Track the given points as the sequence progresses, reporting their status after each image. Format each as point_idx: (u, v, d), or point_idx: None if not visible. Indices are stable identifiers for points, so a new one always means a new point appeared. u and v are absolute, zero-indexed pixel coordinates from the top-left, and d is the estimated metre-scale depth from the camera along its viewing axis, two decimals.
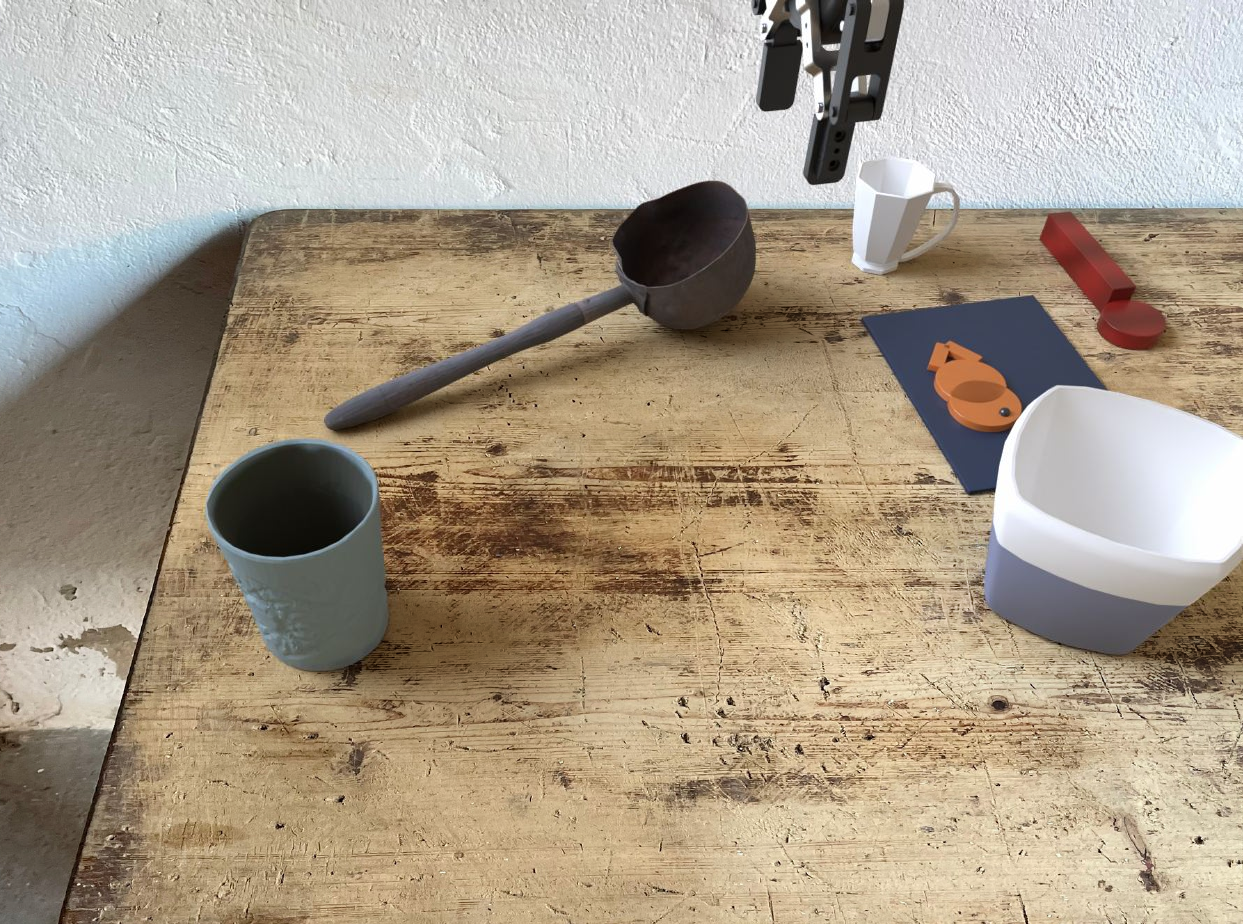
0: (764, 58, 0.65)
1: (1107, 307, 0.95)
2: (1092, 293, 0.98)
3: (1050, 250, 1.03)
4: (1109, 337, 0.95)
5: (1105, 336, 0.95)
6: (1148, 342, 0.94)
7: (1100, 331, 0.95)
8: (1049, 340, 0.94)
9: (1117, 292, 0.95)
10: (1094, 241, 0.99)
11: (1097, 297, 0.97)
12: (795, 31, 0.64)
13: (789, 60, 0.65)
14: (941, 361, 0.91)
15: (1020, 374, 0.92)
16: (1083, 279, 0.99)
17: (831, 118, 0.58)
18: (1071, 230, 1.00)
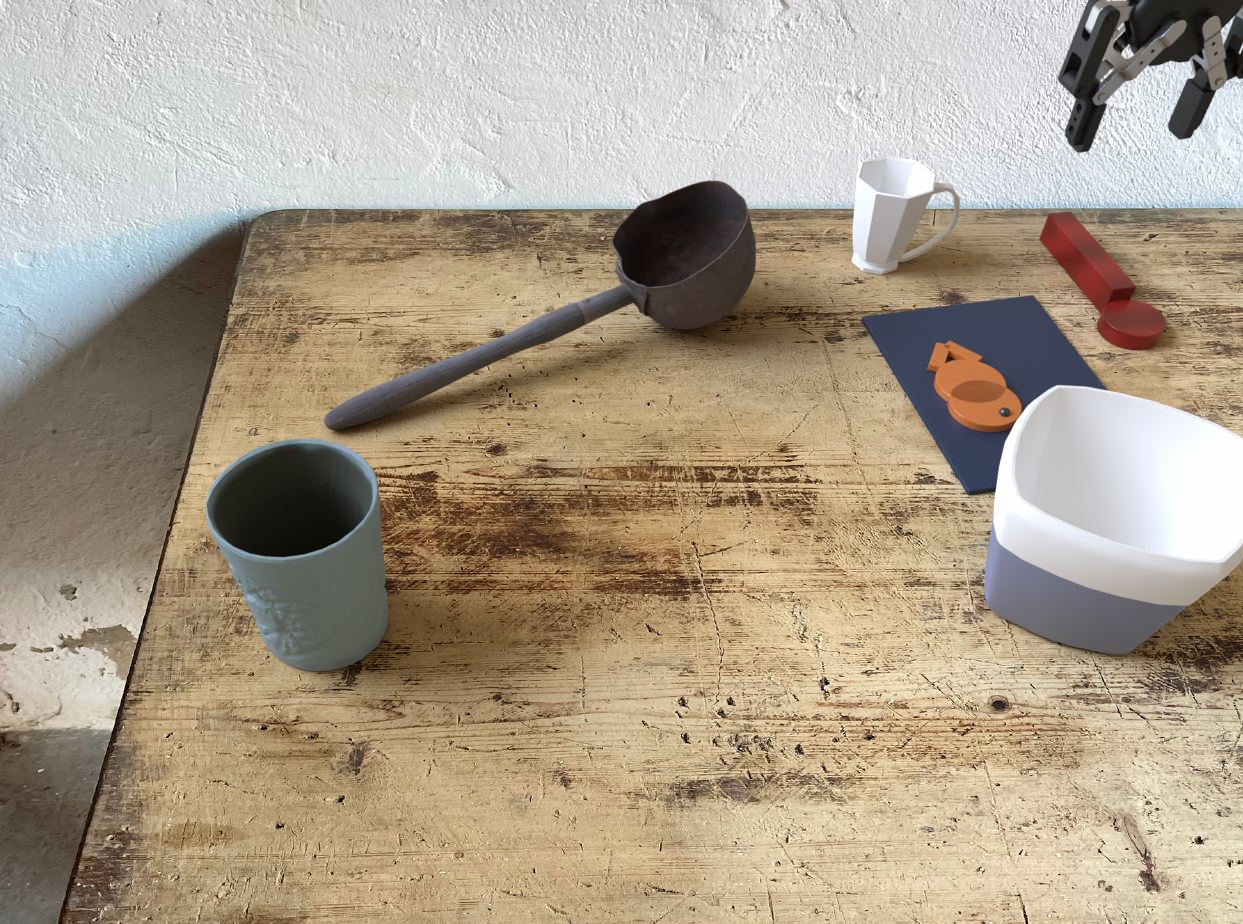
0: None
1: (1107, 307, 0.95)
2: (1092, 293, 0.98)
3: (1050, 250, 1.03)
4: (1109, 337, 0.95)
5: (1105, 336, 0.95)
6: (1148, 342, 0.94)
7: (1100, 331, 0.95)
8: (1049, 340, 0.94)
9: (1117, 292, 0.95)
10: (1094, 241, 0.99)
11: (1097, 297, 0.97)
12: (1205, 79, 0.82)
13: (1193, 99, 0.83)
14: (941, 361, 0.91)
15: (1020, 374, 0.92)
16: (1083, 279, 0.99)
17: None
18: (1071, 230, 1.00)
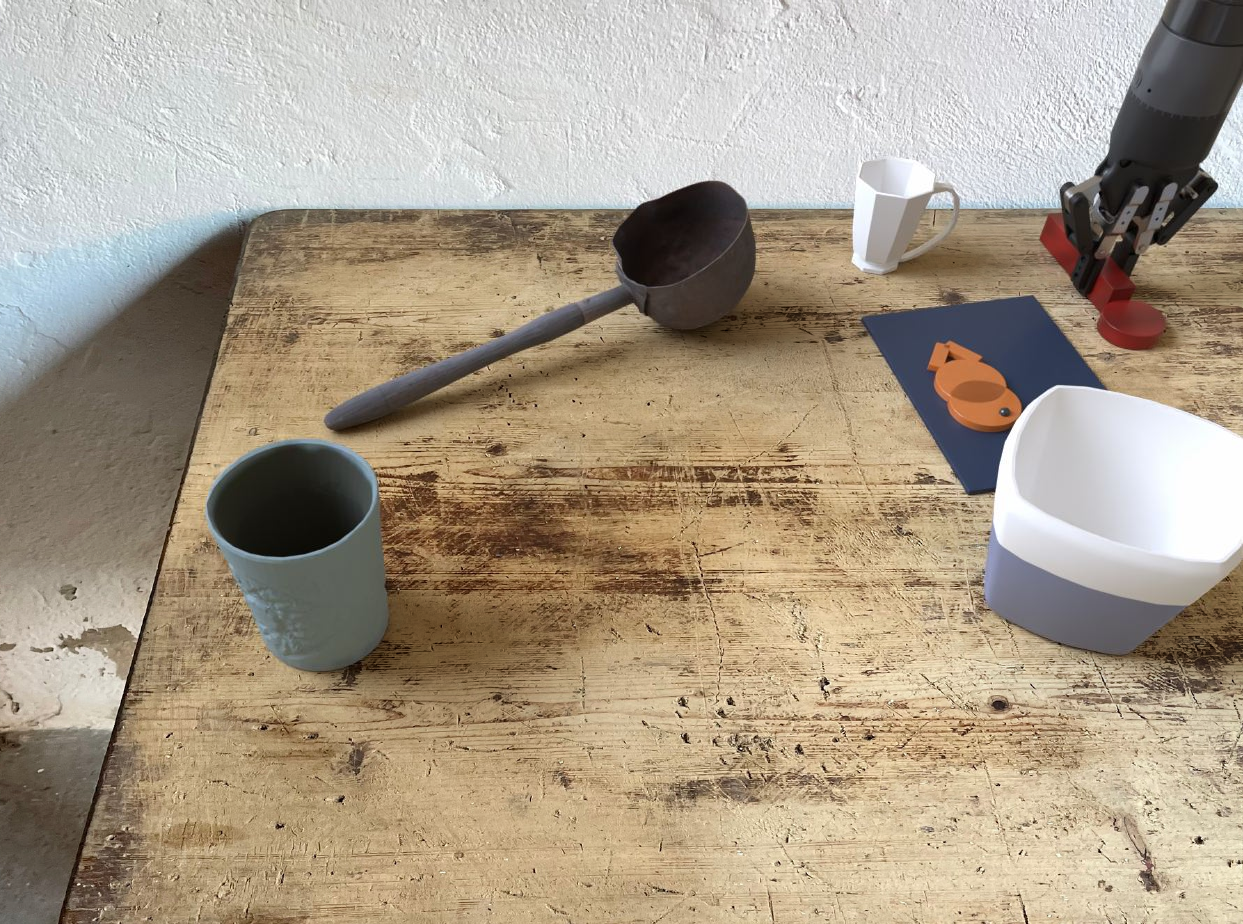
0: None
1: (1107, 307, 0.95)
2: (1092, 293, 0.98)
3: (1050, 250, 1.03)
4: (1109, 337, 0.95)
5: (1105, 336, 0.95)
6: (1148, 342, 0.94)
7: (1100, 331, 0.95)
8: (1049, 340, 0.94)
9: (1117, 292, 0.95)
10: None
11: (1097, 297, 0.97)
12: (1130, 244, 0.95)
13: (1121, 259, 0.97)
14: (941, 361, 0.91)
15: (1020, 374, 0.92)
16: None
17: None
18: None
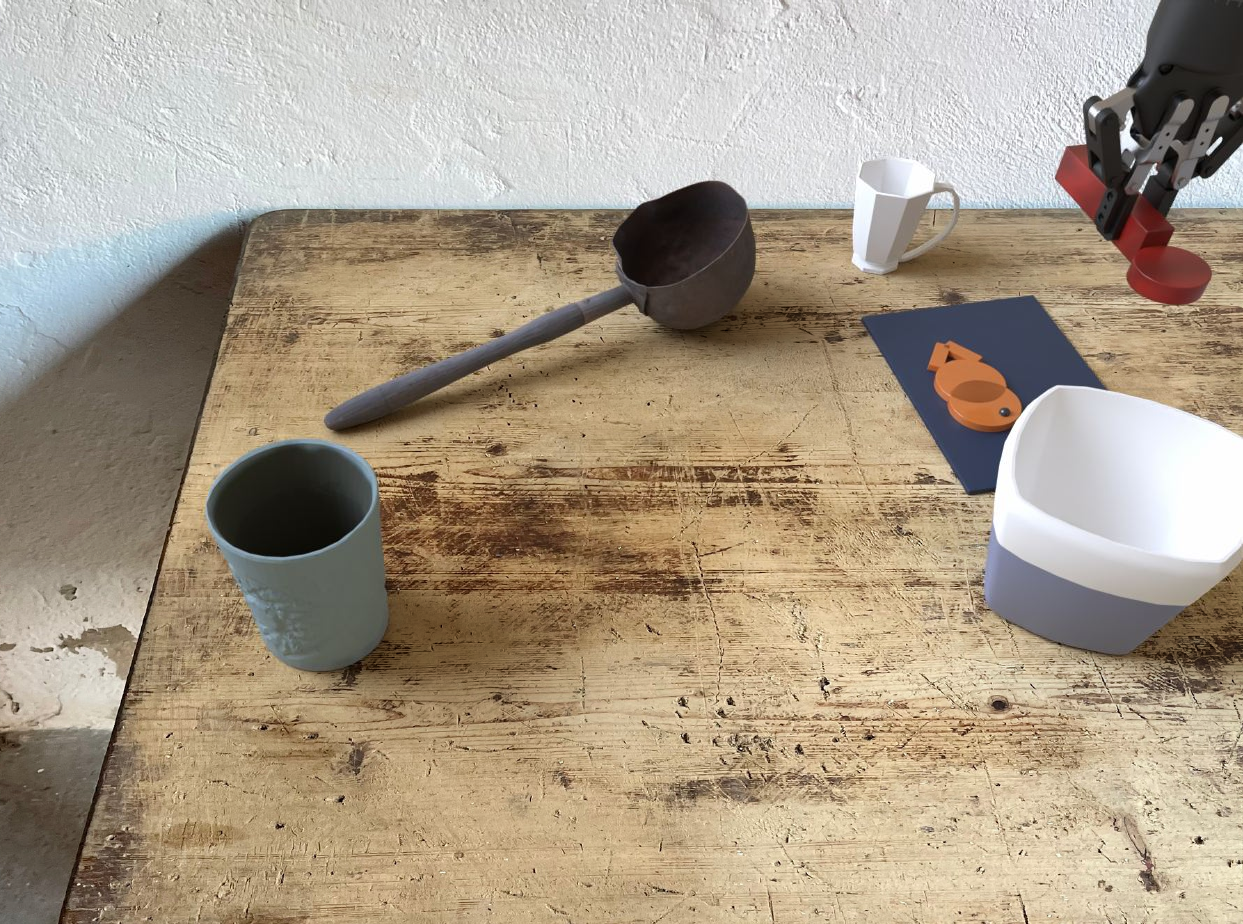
0: None
1: (1139, 254, 0.78)
2: (1120, 239, 0.81)
3: (1068, 190, 0.85)
4: (1142, 290, 0.77)
5: (1138, 288, 0.78)
6: (1190, 296, 0.77)
7: (1131, 283, 0.78)
8: (1049, 340, 0.94)
9: (1151, 235, 0.78)
10: None
11: (1126, 243, 0.80)
12: (1168, 177, 0.78)
13: (1155, 197, 0.79)
14: (941, 361, 0.91)
15: (1020, 374, 0.92)
16: None
17: None
18: None
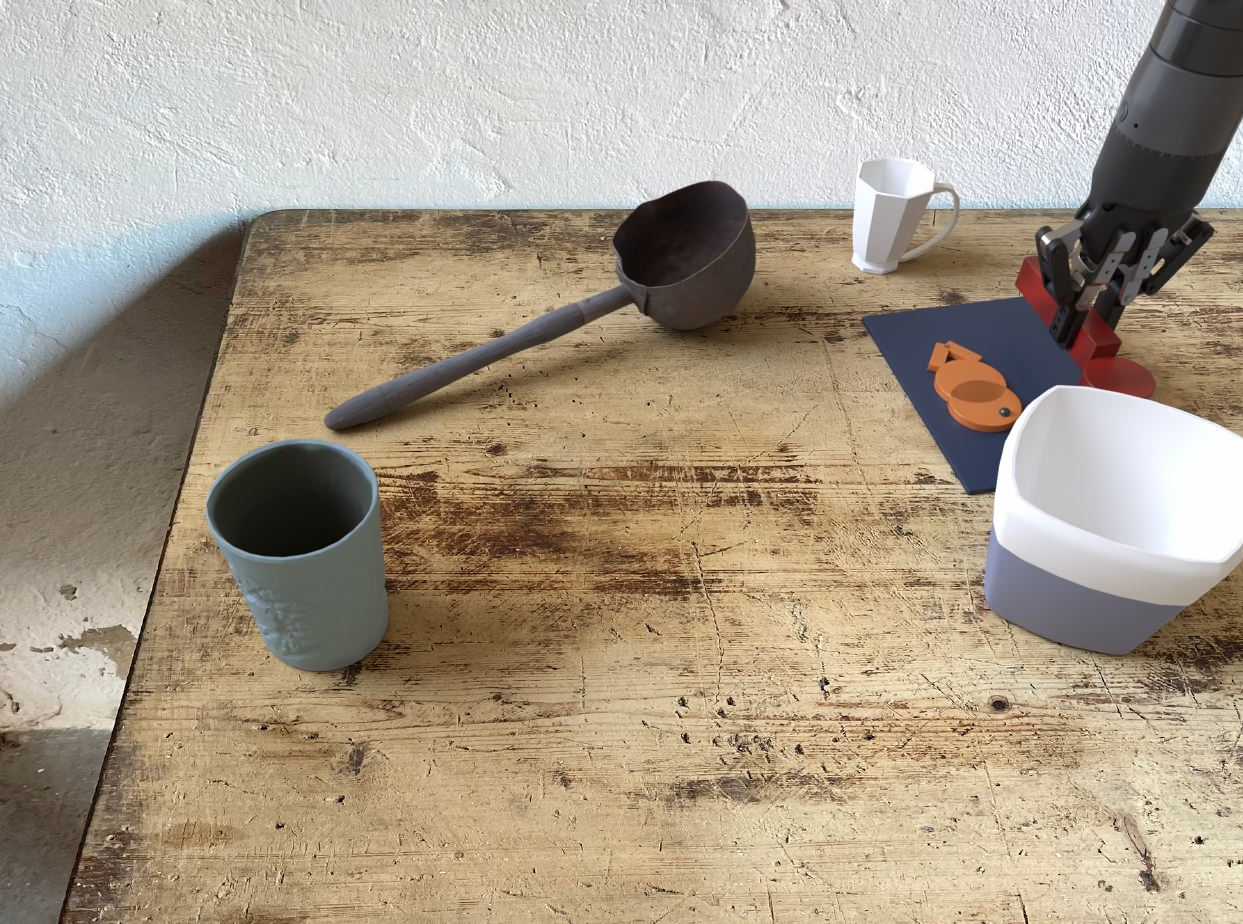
0: None
1: (1089, 365, 0.85)
2: (1073, 348, 0.87)
3: (1026, 297, 0.92)
4: None
5: None
6: None
7: None
8: (1049, 340, 0.94)
9: (1101, 348, 0.85)
10: None
11: (1078, 353, 0.87)
12: (1116, 294, 0.85)
13: (1105, 310, 0.86)
14: (941, 361, 0.91)
15: (1020, 374, 0.92)
16: None
17: None
18: None
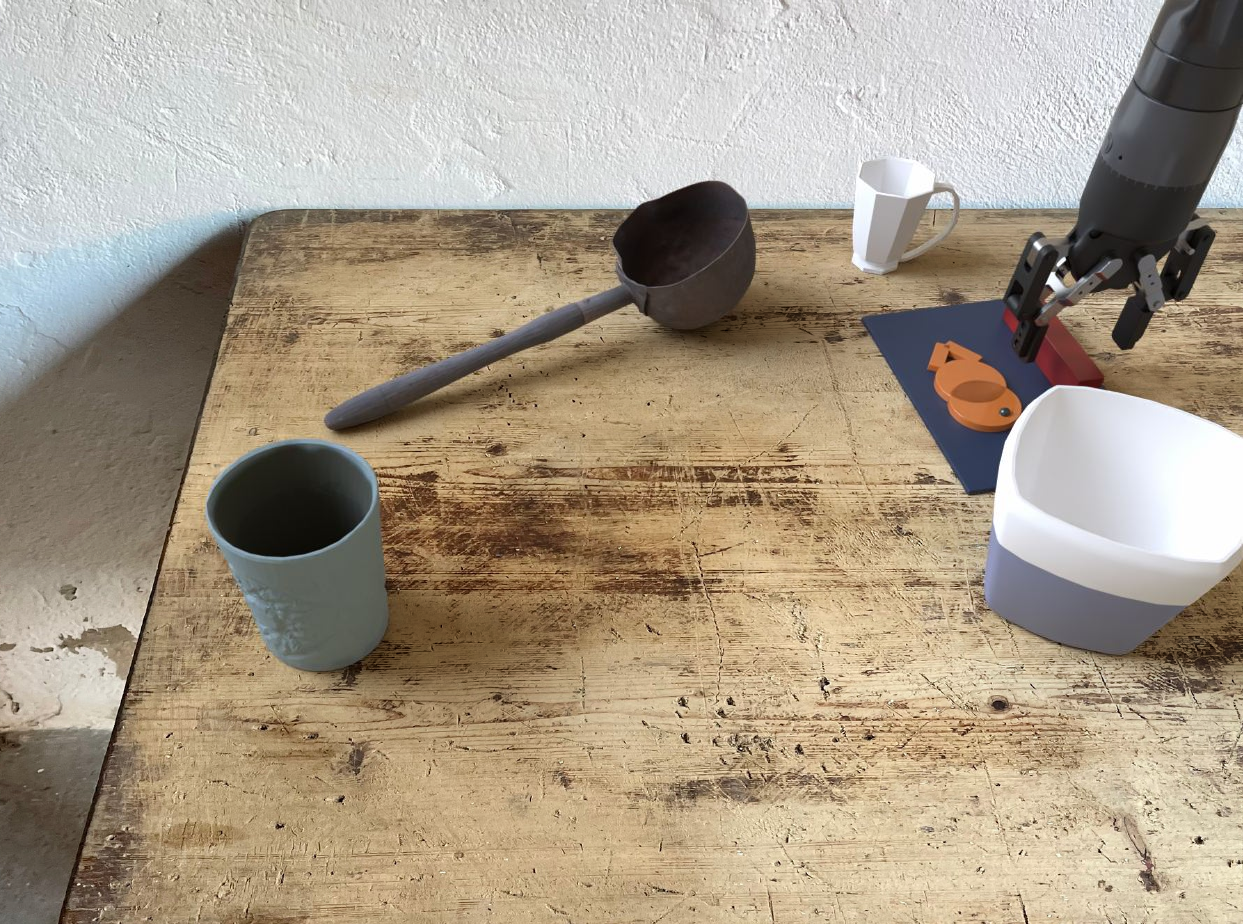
0: None
1: None
2: (1057, 382, 0.90)
3: (1013, 331, 0.95)
4: None
5: None
6: None
7: None
8: None
9: (1084, 383, 0.87)
10: (1060, 324, 0.91)
11: None
12: (1144, 300, 0.86)
13: (1133, 316, 0.87)
14: (941, 361, 0.91)
15: (1020, 374, 0.92)
16: (1048, 366, 0.91)
17: None
18: None
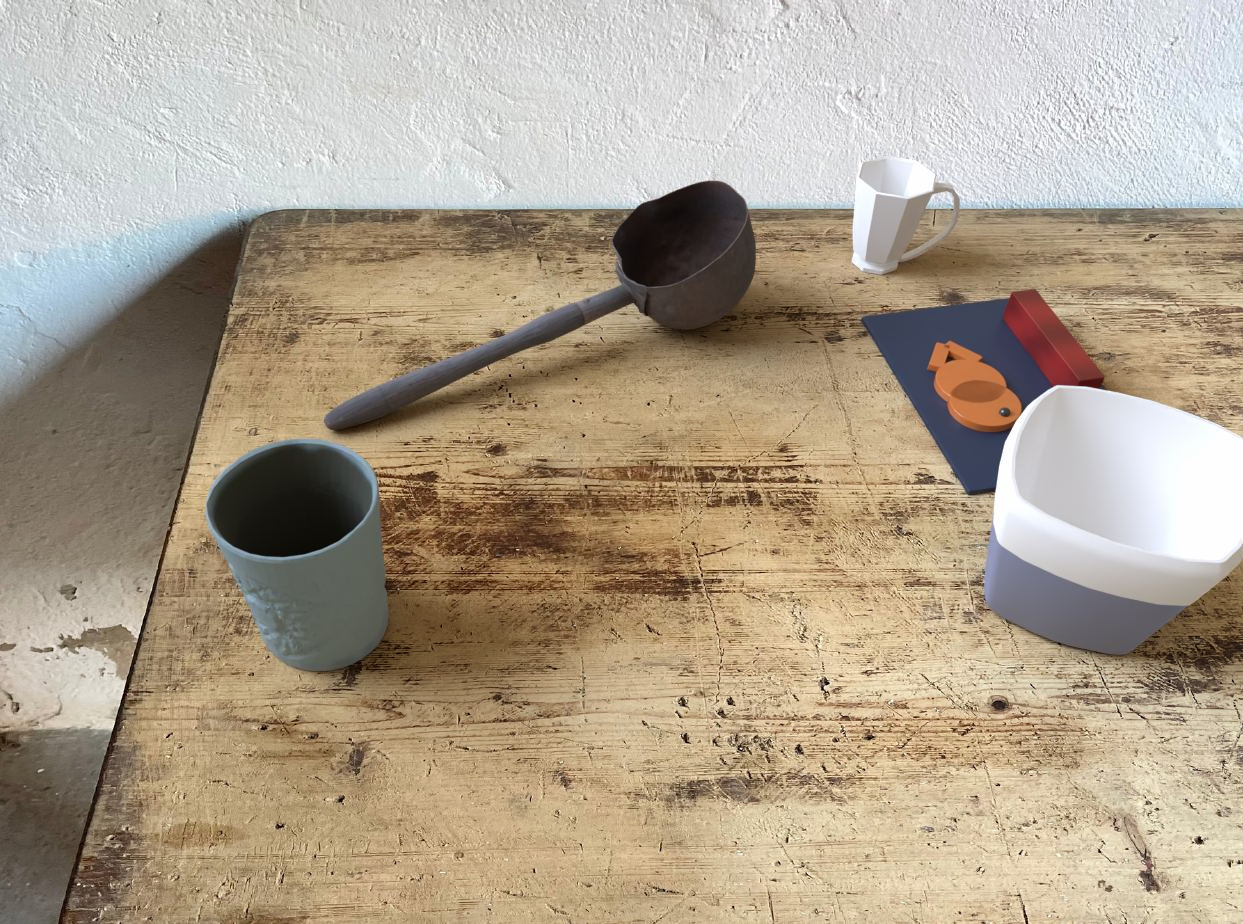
0: None
1: None
2: (1057, 382, 0.90)
3: (1013, 331, 0.95)
4: None
5: None
6: None
7: None
8: None
9: (1084, 383, 0.87)
10: (1060, 324, 0.91)
11: None
12: None
13: None
14: (941, 361, 0.91)
15: (1020, 374, 0.92)
16: (1048, 366, 0.91)
17: None
18: (1035, 311, 0.92)
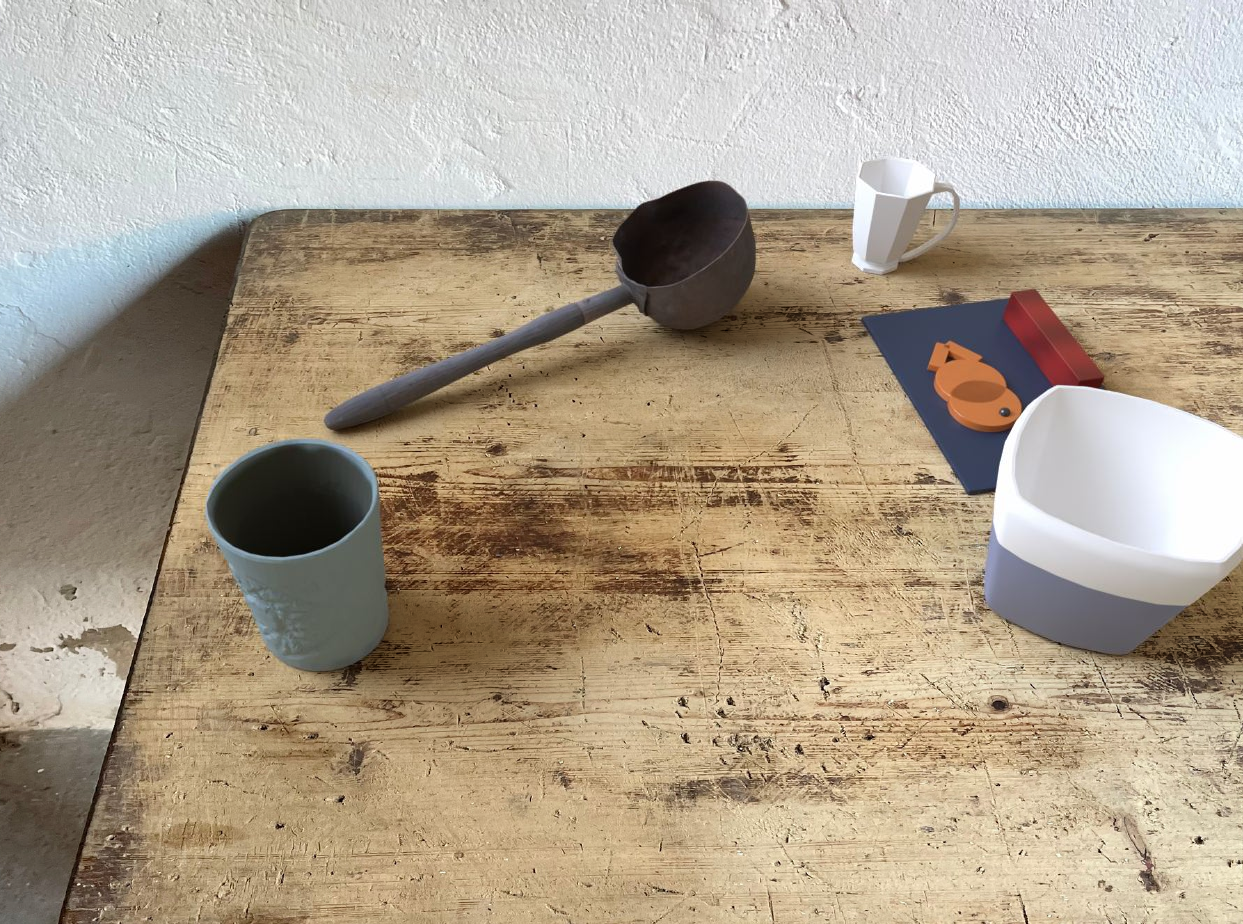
0: None
1: None
2: (1057, 382, 0.90)
3: (1013, 331, 0.95)
4: None
5: None
6: None
7: None
8: None
9: (1084, 383, 0.87)
10: (1060, 324, 0.91)
11: None
12: None
13: None
14: (941, 361, 0.91)
15: (1020, 374, 0.92)
16: (1048, 366, 0.91)
17: None
18: (1035, 311, 0.92)
